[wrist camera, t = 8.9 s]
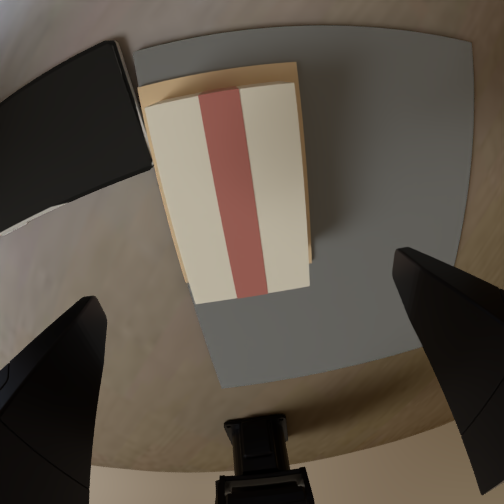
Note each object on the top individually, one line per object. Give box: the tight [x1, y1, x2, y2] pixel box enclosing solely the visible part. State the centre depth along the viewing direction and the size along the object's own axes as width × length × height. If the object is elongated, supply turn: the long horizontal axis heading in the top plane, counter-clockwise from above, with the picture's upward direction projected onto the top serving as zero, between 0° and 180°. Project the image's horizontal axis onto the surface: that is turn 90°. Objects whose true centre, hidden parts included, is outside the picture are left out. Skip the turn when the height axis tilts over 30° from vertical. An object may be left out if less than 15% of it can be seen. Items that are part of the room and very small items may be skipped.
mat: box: [133, 25, 474, 388], centre depth 20 cm, size 26×20×1 cm
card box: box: [145, 81, 310, 304], centre depth 16 cm, size 10×6×4 cm, turn 8°
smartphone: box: [0, 40, 154, 237], centre depth 15 cm, size 8×1×15 cm
